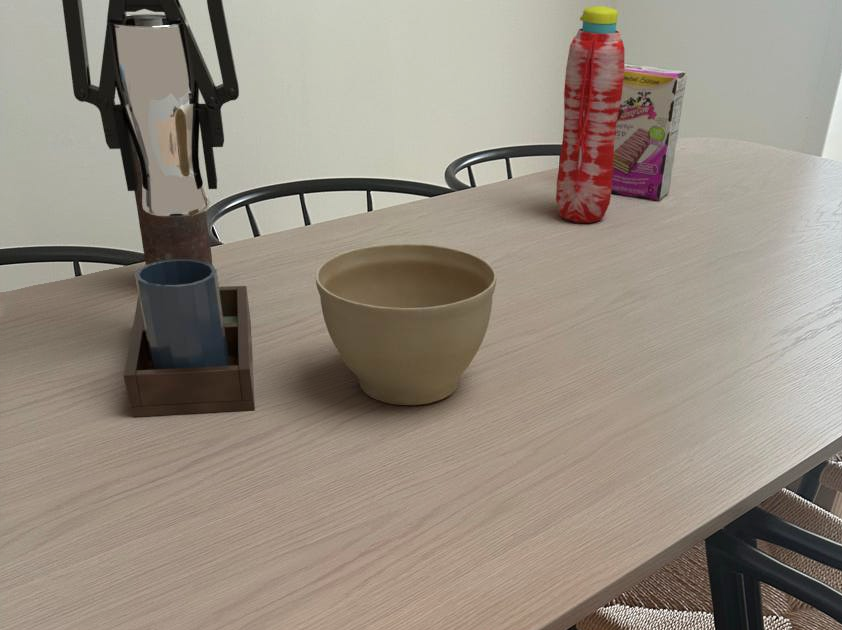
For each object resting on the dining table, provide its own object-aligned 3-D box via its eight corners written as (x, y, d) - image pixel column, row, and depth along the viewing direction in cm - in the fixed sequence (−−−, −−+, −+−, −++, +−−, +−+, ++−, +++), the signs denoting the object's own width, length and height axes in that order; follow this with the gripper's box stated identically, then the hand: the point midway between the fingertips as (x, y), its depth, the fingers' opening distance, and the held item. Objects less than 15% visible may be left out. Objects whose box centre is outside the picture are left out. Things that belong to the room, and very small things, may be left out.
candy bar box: (588, 190, 148) (600, 66, 138) (600, 182, 152) (612, 60, 141) (660, 202, 145) (678, 75, 134) (670, 194, 148) (688, 69, 138)
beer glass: (144, 222, 89) (109, 27, 79) (132, 200, 94) (98, 14, 84) (222, 214, 91) (197, 25, 81) (206, 193, 96) (181, 12, 86)
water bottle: (569, 199, 144) (586, -3, 128) (622, 207, 142) (646, 2, 126) (542, 222, 136) (557, 8, 120) (598, 231, 134) (621, 14, 118)
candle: (226, 290, 113) (200, 94, 100) (164, 302, 109) (129, 101, 97) (200, 270, 117) (172, 80, 105) (140, 281, 114) (103, 86, 101)
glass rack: (132, 417, 89) (123, 375, 86) (146, 327, 104) (139, 289, 101) (254, 410, 90) (249, 368, 88) (250, 322, 106) (246, 285, 103)
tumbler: (163, 400, 89) (143, 290, 83) (149, 370, 94) (129, 263, 87) (238, 388, 91) (223, 280, 85) (221, 359, 96) (206, 255, 90)
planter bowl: (327, 350, 101) (319, 241, 94) (485, 350, 102) (488, 243, 95) (319, 425, 89) (309, 306, 82) (498, 424, 90) (504, 306, 83)
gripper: (-20, -133, 72) (57, 200, 87) (251, -125, 75) (281, 195, 90) (-2, -137, 78) (68, 176, 92) (250, -130, 81) (278, 172, 95)
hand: (173, 185), depth 91 cm, fingers closed on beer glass, 6 cm apart
